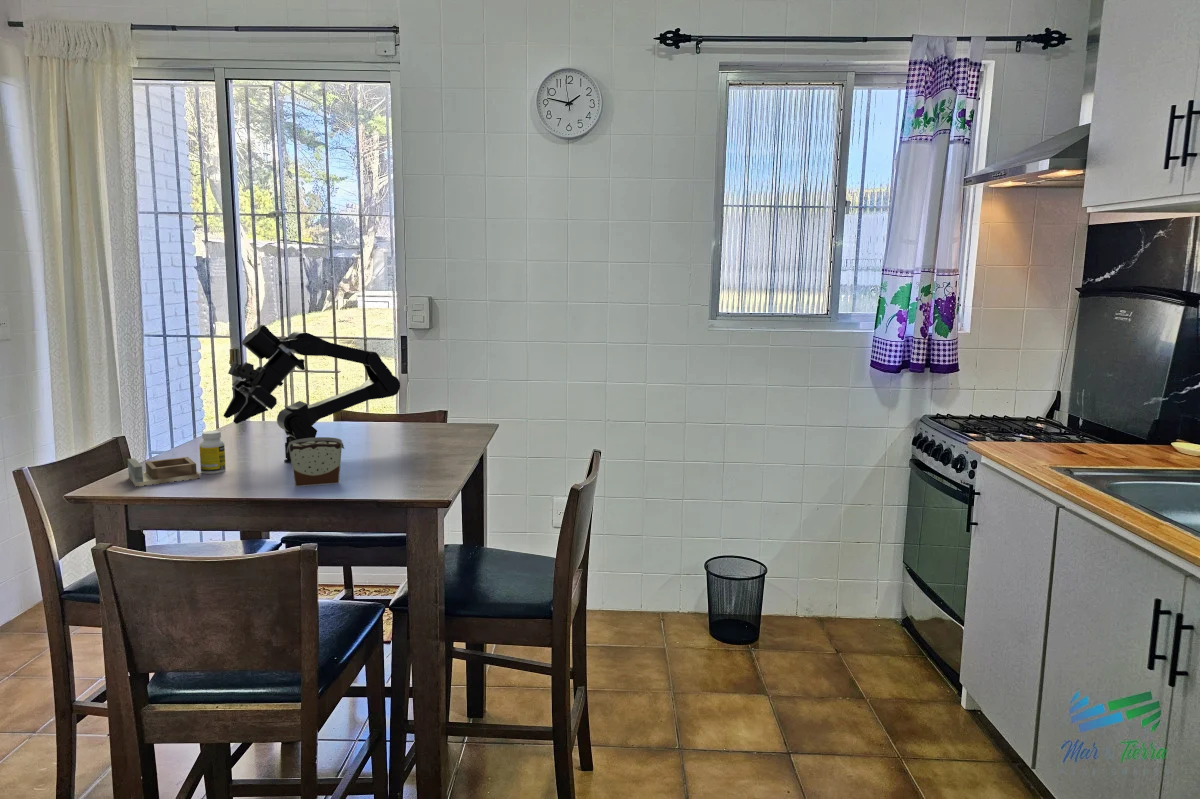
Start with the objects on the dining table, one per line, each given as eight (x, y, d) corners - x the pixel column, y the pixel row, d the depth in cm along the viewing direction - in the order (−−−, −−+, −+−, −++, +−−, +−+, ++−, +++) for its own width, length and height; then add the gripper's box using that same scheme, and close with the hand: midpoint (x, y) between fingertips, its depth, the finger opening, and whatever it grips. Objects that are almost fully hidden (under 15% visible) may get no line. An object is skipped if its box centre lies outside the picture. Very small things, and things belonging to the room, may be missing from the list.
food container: (344, 476, 186) (342, 435, 184) (345, 483, 180) (344, 440, 179) (288, 481, 181) (286, 438, 180) (288, 487, 176) (286, 443, 174)
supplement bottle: (223, 473, 187) (221, 433, 186) (199, 475, 186) (196, 434, 184) (227, 468, 192) (225, 429, 191) (203, 470, 191) (200, 430, 189)
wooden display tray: (190, 470, 190) (189, 452, 190) (199, 478, 183) (198, 459, 182) (128, 477, 182) (127, 459, 182) (135, 486, 175) (134, 467, 174)
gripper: (239, 347, 198) (193, 394, 193) (259, 353, 183) (211, 403, 178) (273, 376, 204) (230, 422, 199) (295, 383, 189) (250, 433, 184)
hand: (229, 419), depth 190 cm, fingers open, 9 cm apart
